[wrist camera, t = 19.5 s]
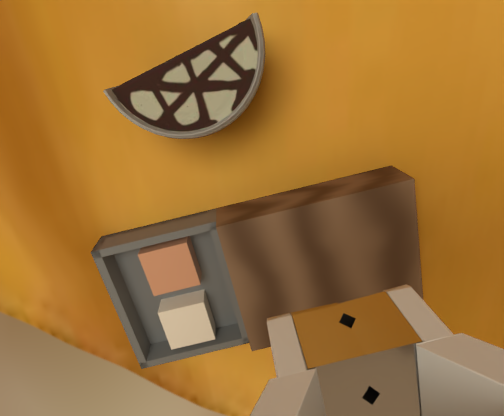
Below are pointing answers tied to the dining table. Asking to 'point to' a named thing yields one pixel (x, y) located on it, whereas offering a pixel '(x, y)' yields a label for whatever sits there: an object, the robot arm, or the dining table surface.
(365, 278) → the block
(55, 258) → the dining table surface
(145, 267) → the terracotta tile
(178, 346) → the cream block
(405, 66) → the dining table surface
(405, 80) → the dining table surface
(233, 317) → the bin
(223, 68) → the food container
